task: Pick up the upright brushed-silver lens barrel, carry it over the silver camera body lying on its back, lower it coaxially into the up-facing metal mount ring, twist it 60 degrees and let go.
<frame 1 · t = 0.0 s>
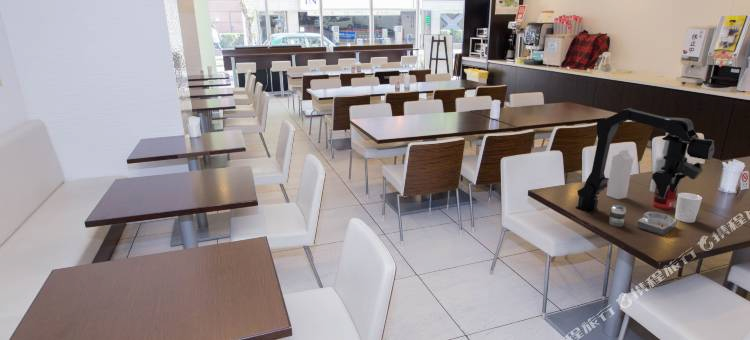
hand: (667, 194, 162), 15 cm above the table, fingers open, 9 cm apart
canned food: (662, 207, 190), on the table
lens: (615, 223, 173), on the table
milk: (616, 196, 201), on the table
camera body: (656, 227, 170), on the table
bottle: (657, 191, 207), on the table
white cup: (684, 219, 177), on the table
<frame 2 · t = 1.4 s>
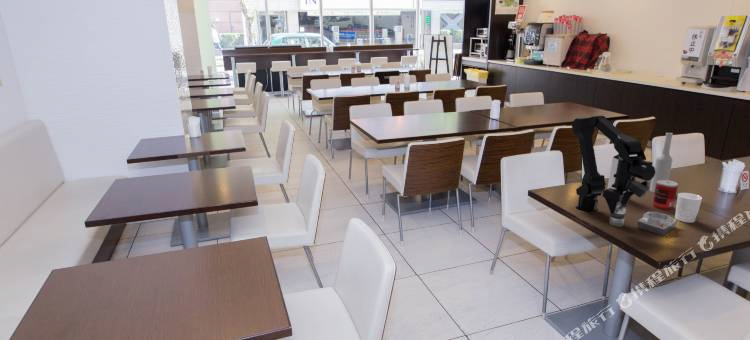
hand: (618, 210, 171), 6 cm above the table, fingers open, 9 cm apart
nothing on the table moved.
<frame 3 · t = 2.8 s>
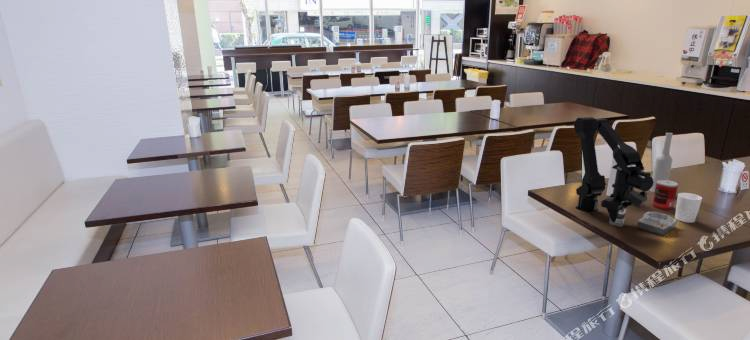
hand: (616, 220, 172), 2 cm above the table, fingers closed on lens, 5 cm apart
lens: (616, 223, 173), on the table, touching gripper
everything else where it was.
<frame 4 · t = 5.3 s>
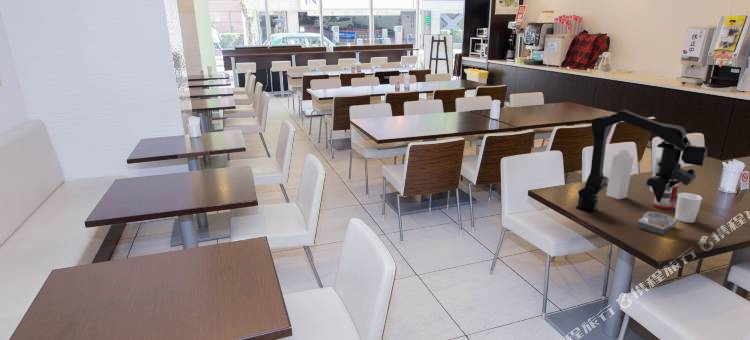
hand: (661, 200, 166), 11 cm above the table, fingers closed on lens, 5 cm apart
lens: (660, 203, 167), point 10 cm above the table, touching gripper
everything else where it was.
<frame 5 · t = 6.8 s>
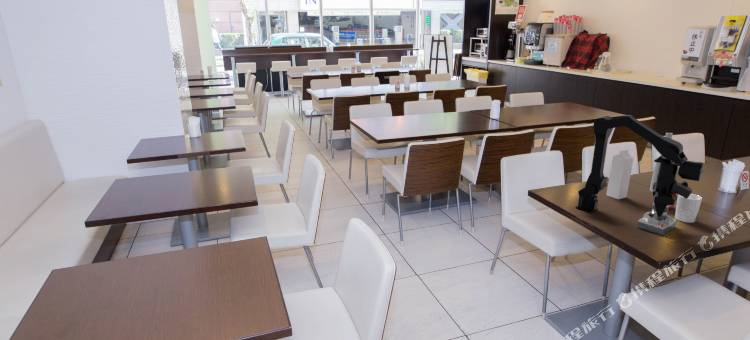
hand: (658, 214, 168), 5 cm above the table, fingers closed on lens, 5 cm apart
lens: (658, 217, 168), point 4 cm above the table, touching gripper
everything else where it was.
when the fingers open (5 cm above the table, at t = 8.0 s): lens stays where it is, resting on camera body.
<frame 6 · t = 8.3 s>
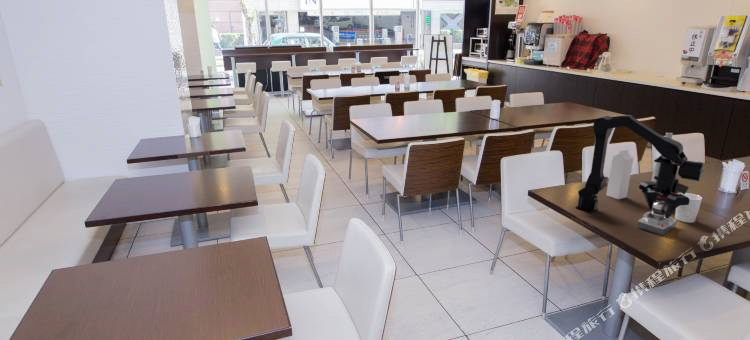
hand: (658, 213, 168), 5 cm above the table, fingers open, 8 cm apart
lens: (657, 219, 169), point 3 cm above the table, touching camera body
everything else where it was.
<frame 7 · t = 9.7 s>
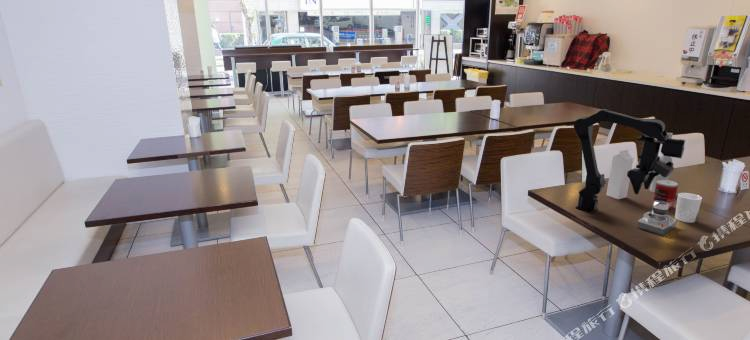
hand: (641, 191, 172), 12 cm above the table, fingers open, 9 cm apart
nothing on the table moved.
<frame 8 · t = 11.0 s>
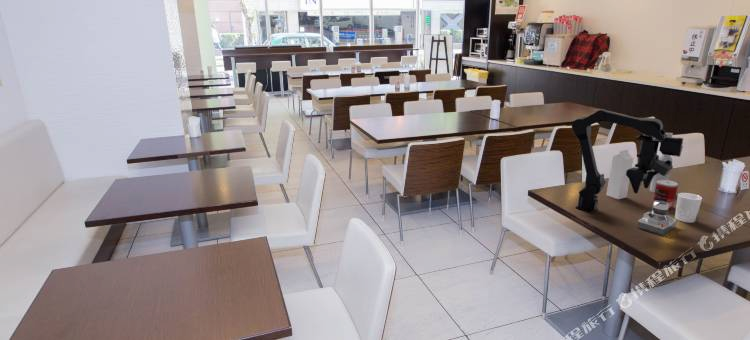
hand: (640, 190, 172), 13 cm above the table, fingers open, 9 cm apart
nothing on the table moved.
at the end: lens 0.0 cm off-centre on the camera body, point 3.0 cm above the camera body's base; lens tilted 1°; the gripper is holding nothing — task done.
